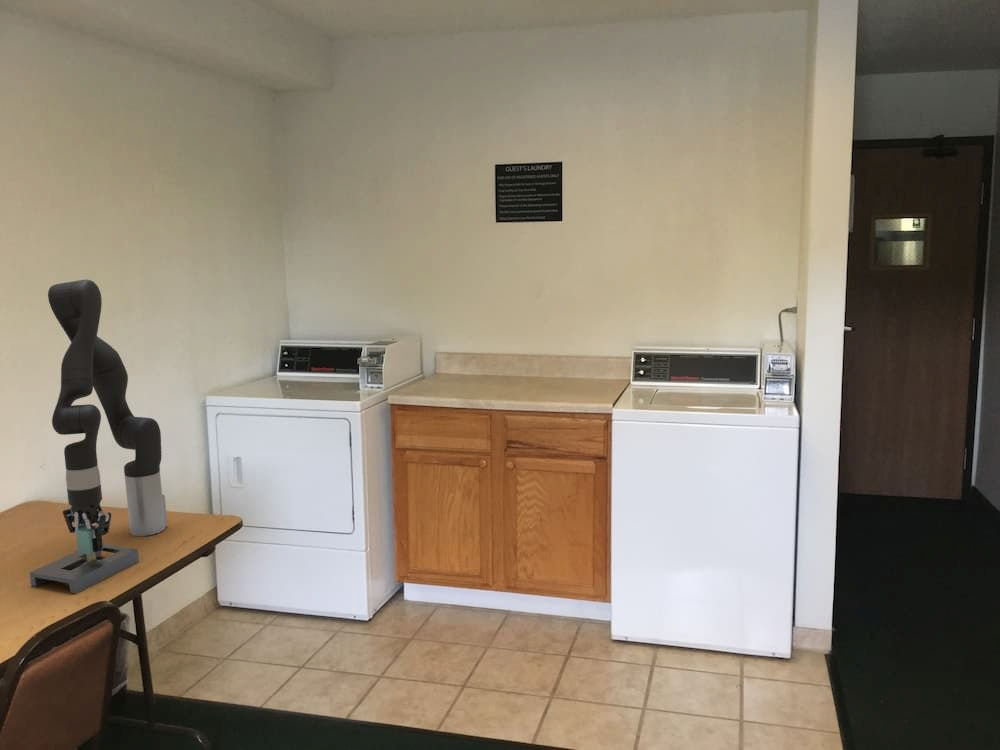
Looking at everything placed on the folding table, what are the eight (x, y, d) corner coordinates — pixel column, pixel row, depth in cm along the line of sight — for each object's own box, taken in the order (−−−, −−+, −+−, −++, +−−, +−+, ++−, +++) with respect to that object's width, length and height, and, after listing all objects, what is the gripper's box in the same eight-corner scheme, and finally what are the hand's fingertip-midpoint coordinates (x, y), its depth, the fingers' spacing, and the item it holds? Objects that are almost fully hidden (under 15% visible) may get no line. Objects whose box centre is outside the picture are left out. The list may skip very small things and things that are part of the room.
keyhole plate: (97, 555, 217) (96, 542, 216) (139, 561, 212) (137, 549, 212) (31, 586, 199) (29, 572, 198) (75, 594, 194) (73, 580, 193)
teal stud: (92, 564, 210) (88, 523, 208) (108, 567, 208) (103, 525, 206) (76, 572, 205) (72, 530, 204) (92, 574, 204) (87, 532, 202)
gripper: (117, 482, 204) (124, 548, 207) (74, 477, 209) (81, 541, 212) (93, 491, 197) (100, 559, 200) (49, 486, 202) (56, 552, 205)
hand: (90, 549), depth 206 cm, fingers closed on teal stud, 4 cm apart
